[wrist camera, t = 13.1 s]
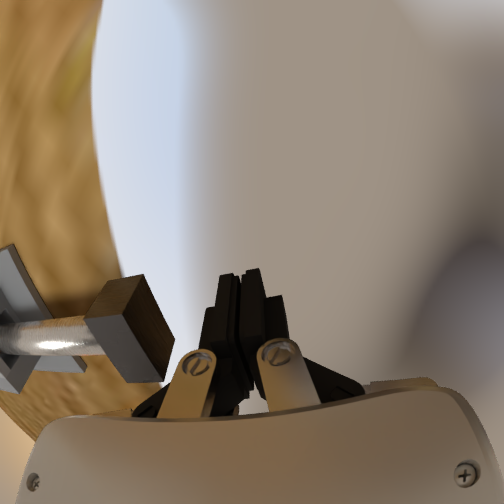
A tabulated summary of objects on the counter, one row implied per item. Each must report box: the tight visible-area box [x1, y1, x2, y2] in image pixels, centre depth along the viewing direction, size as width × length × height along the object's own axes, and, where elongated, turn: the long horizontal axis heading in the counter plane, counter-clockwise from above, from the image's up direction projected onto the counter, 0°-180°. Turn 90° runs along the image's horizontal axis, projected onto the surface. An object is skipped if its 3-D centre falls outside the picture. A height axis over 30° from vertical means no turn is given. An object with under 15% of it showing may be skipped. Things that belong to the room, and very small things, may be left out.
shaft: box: [0, 274, 175, 383], centre depth 13 cm, size 4×15×3 cm, turn 103°
